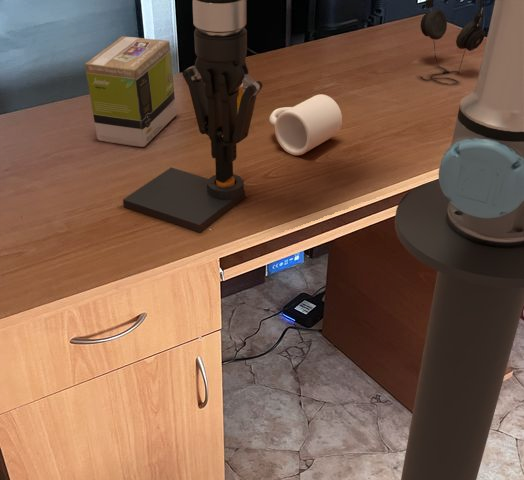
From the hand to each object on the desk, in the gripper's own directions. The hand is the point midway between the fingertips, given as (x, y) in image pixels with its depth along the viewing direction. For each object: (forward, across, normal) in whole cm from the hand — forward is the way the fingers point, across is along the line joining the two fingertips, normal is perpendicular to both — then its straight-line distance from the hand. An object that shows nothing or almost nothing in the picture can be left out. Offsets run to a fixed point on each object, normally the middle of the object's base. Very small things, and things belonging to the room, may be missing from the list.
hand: (224, 177), depth 127 cm
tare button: (+2, 0, 0) cm, 2 cm away
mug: (+4, 0, -24) cm, 25 cm away
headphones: (+4, -9, -70) cm, 71 cm away
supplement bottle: (+4, +17, -28) cm, 33 cm away
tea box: (+4, +29, -14) cm, 32 cm away
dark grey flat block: (+4, +5, +4) cm, 8 cm away
